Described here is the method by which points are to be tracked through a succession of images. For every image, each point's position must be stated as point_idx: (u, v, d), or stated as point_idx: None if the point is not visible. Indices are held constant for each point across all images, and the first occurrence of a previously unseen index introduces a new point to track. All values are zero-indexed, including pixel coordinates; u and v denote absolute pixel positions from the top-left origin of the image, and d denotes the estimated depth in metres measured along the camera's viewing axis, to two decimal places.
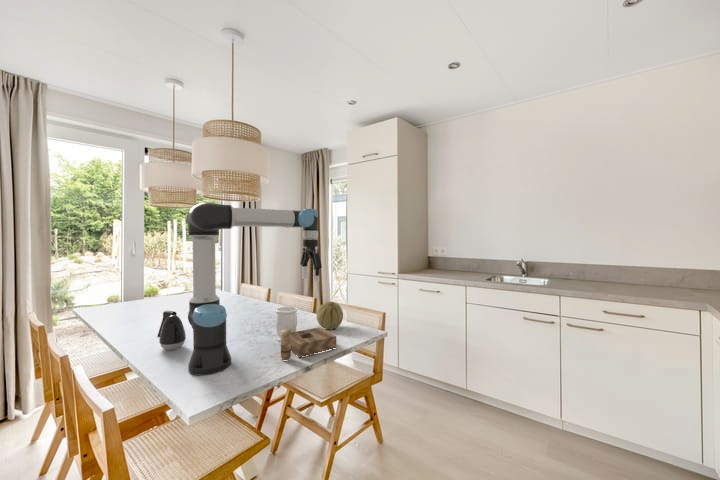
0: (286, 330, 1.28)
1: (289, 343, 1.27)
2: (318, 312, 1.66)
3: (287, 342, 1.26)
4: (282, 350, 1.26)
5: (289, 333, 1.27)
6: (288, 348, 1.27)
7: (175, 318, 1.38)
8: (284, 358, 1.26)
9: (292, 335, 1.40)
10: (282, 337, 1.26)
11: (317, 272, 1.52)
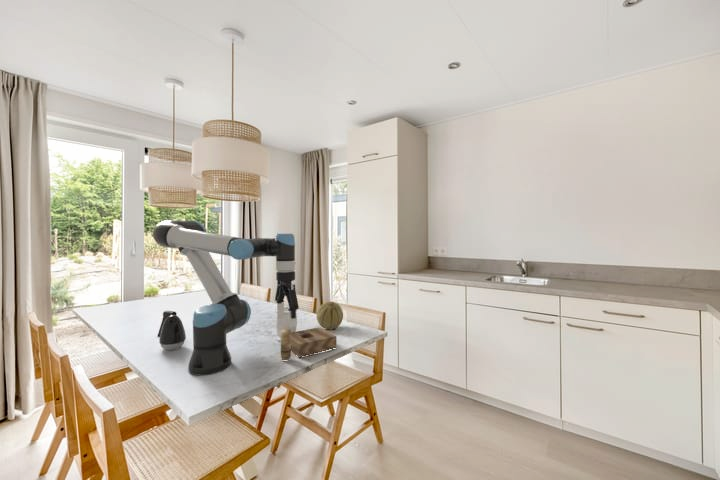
0: (286, 330, 1.28)
1: (289, 343, 1.27)
2: (318, 312, 1.66)
3: (287, 342, 1.26)
4: (282, 350, 1.26)
5: (289, 333, 1.27)
6: (288, 348, 1.27)
7: (175, 318, 1.38)
8: (284, 358, 1.26)
9: (292, 335, 1.40)
10: (282, 337, 1.26)
11: (293, 314, 1.21)
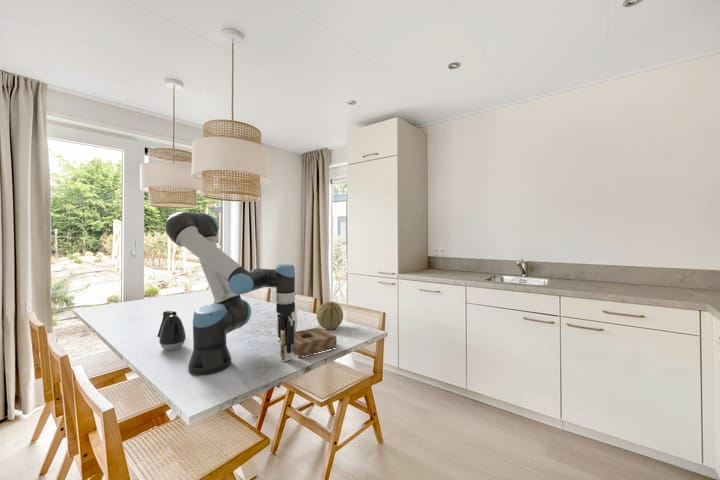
0: None
1: None
2: (318, 312, 1.66)
3: None
4: (282, 350, 1.26)
5: None
6: None
7: (175, 318, 1.38)
8: (284, 358, 1.26)
9: None
10: (282, 337, 1.26)
11: (288, 349, 1.25)
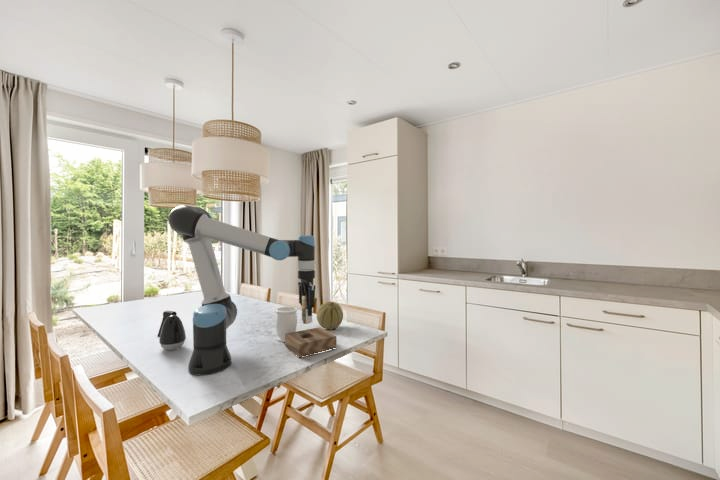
0: None
1: None
2: (318, 312, 1.66)
3: None
4: (303, 313, 1.38)
5: None
6: None
7: (175, 318, 1.38)
8: (305, 321, 1.38)
9: (292, 335, 1.40)
10: (303, 301, 1.38)
11: (310, 312, 1.36)
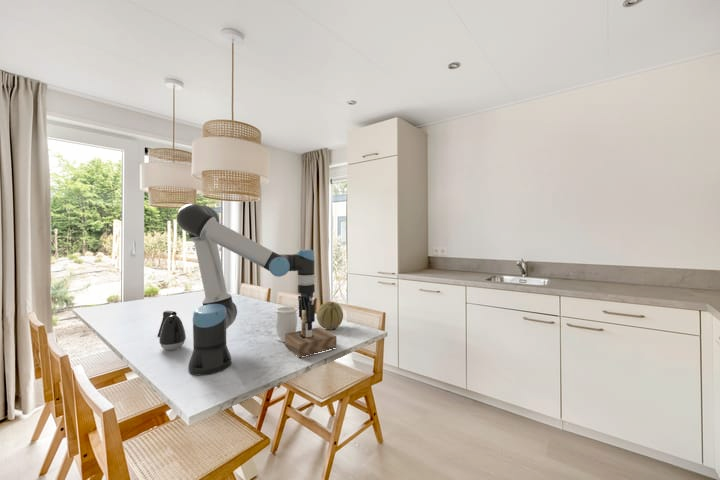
0: None
1: None
2: (318, 312, 1.66)
3: None
4: (303, 328, 1.38)
5: None
6: None
7: (175, 318, 1.38)
8: (305, 335, 1.38)
9: (292, 335, 1.40)
10: (303, 316, 1.38)
11: (310, 326, 1.36)
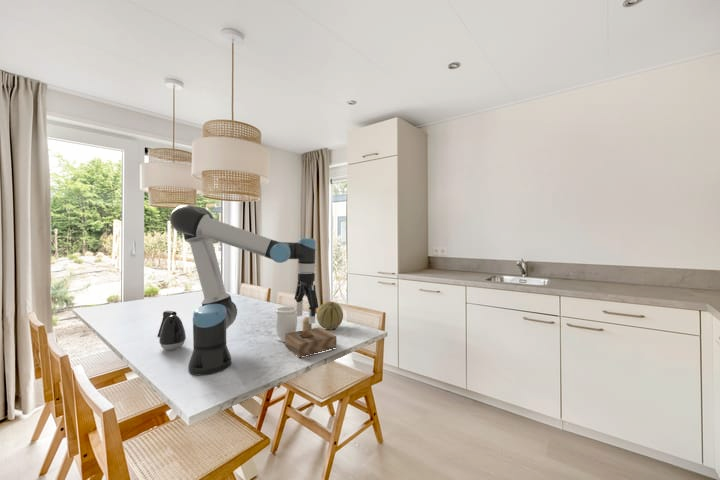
0: (307, 318, 1.40)
1: (310, 329, 1.38)
2: (318, 312, 1.66)
3: (308, 328, 1.38)
4: (304, 336, 1.38)
5: None
6: (309, 334, 1.38)
7: (175, 318, 1.38)
8: None
9: (292, 335, 1.40)
10: (304, 324, 1.38)
11: (313, 312, 1.32)
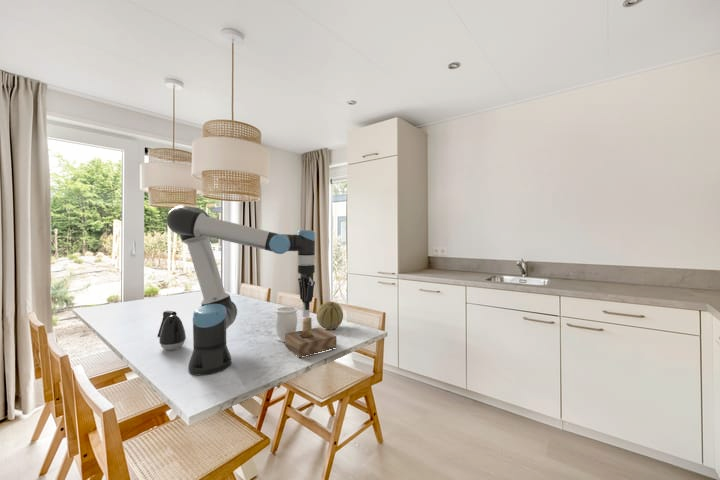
0: (307, 318, 1.40)
1: (310, 329, 1.38)
2: (318, 312, 1.66)
3: (308, 329, 1.38)
4: (304, 336, 1.38)
5: (310, 320, 1.38)
6: (309, 334, 1.38)
7: (175, 318, 1.38)
8: None
9: (292, 335, 1.40)
10: (304, 324, 1.38)
11: (307, 306, 1.38)
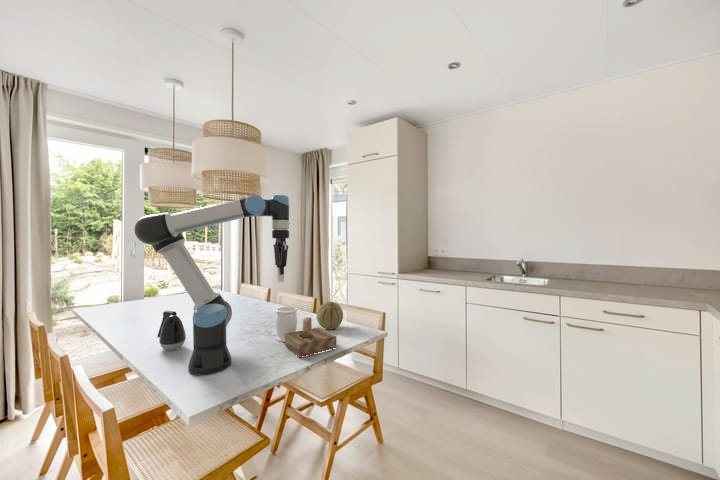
0: (307, 318, 1.40)
1: (310, 329, 1.38)
2: (318, 312, 1.66)
3: (308, 329, 1.38)
4: (304, 336, 1.38)
5: (310, 320, 1.38)
6: (309, 334, 1.38)
7: (175, 318, 1.38)
8: None
9: (292, 335, 1.40)
10: (304, 324, 1.38)
11: (281, 271, 1.39)
